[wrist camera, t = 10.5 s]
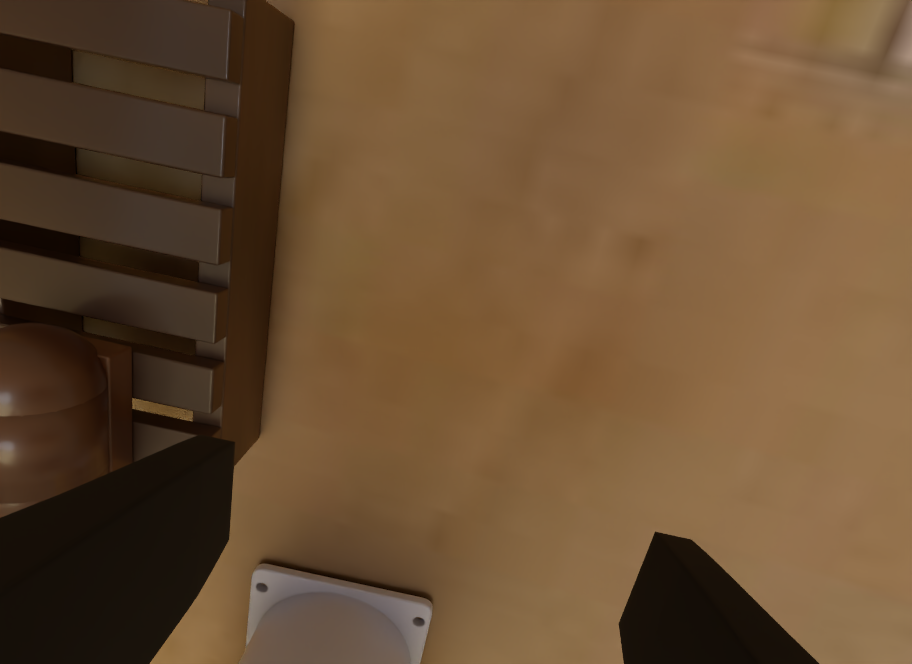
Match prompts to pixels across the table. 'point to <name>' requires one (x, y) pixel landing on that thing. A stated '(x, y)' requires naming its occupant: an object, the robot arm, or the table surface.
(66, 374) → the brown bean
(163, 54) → the rack
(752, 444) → the table surface
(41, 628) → the robot arm
